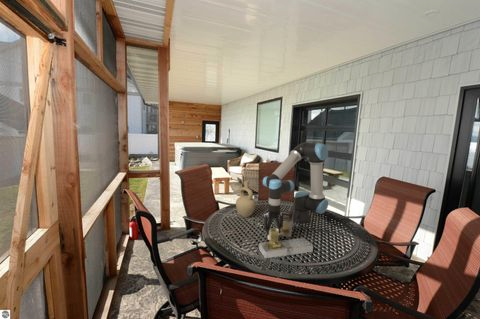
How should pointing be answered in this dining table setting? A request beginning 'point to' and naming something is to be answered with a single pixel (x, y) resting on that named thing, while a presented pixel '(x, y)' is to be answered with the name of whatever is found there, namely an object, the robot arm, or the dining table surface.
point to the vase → (245, 201)
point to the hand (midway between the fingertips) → (272, 238)
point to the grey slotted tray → (286, 248)
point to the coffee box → (286, 223)
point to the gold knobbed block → (274, 235)
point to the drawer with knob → (274, 244)
